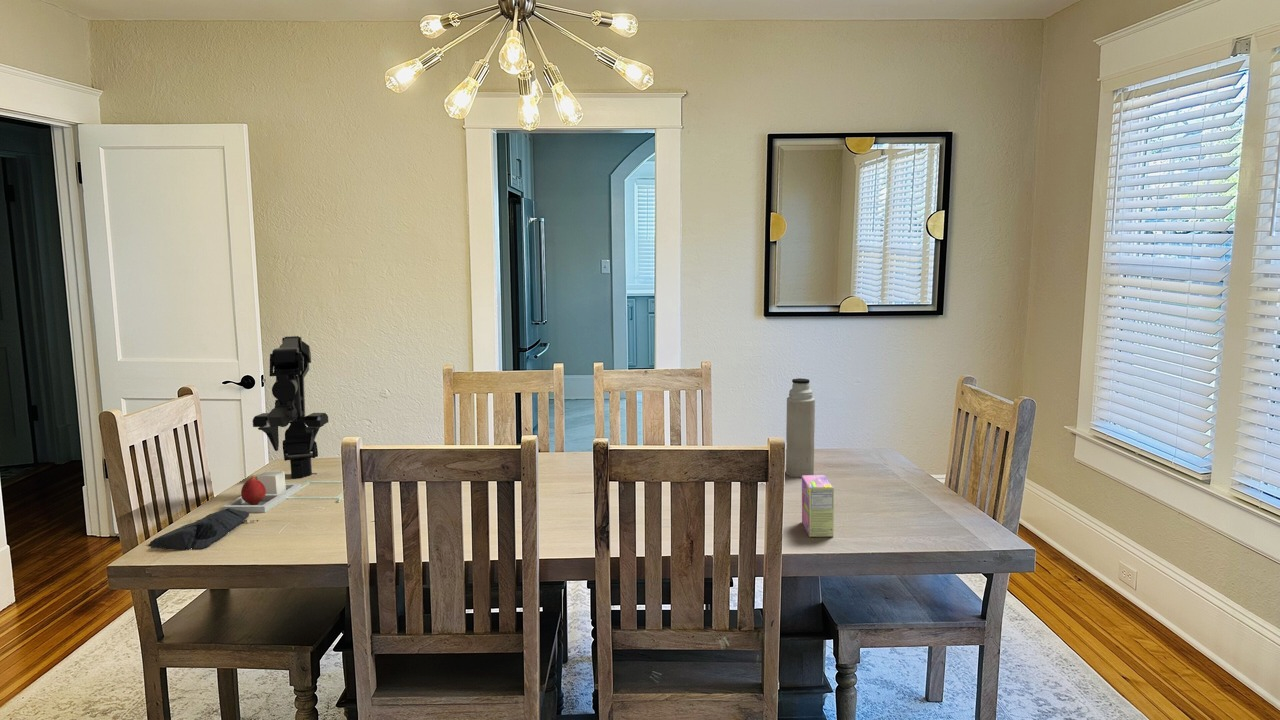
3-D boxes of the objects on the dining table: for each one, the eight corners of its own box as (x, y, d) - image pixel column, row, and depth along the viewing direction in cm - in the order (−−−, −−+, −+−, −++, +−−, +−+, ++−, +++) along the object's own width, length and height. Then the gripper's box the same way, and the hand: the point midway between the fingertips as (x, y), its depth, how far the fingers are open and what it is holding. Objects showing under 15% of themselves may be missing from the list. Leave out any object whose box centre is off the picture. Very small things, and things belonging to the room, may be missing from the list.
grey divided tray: (263, 492, 225) (262, 483, 225) (301, 492, 225) (301, 483, 224) (223, 516, 205) (222, 506, 205) (265, 516, 205) (264, 506, 205)
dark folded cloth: (261, 520, 203) (259, 502, 202) (201, 553, 182) (199, 533, 181) (206, 518, 205) (204, 500, 205) (141, 551, 184) (138, 531, 183)
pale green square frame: (307, 485, 232) (307, 481, 232) (362, 485, 231) (362, 480, 231) (280, 502, 216) (280, 498, 216) (339, 502, 215) (338, 498, 215)
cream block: (268, 492, 222) (266, 470, 221) (286, 492, 222) (284, 470, 221) (259, 497, 217) (257, 476, 216) (277, 497, 217) (275, 476, 216)
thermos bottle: (810, 469, 240) (812, 376, 236) (816, 477, 232) (817, 381, 228) (783, 469, 240) (784, 377, 236) (788, 477, 232) (789, 381, 228)
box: (800, 522, 195) (801, 474, 193) (824, 522, 194) (825, 474, 193) (808, 537, 184) (809, 487, 183) (833, 537, 184) (834, 487, 182)
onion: (249, 510, 206) (246, 480, 205) (238, 506, 210) (235, 476, 209) (271, 504, 211) (268, 475, 210) (259, 500, 214) (257, 471, 213)
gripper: (239, 400, 211) (244, 458, 213) (308, 400, 210) (313, 458, 213) (261, 392, 222) (265, 447, 224) (327, 392, 221) (331, 447, 224)
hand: (293, 450), depth 221 cm, fingers open, 9 cm apart
